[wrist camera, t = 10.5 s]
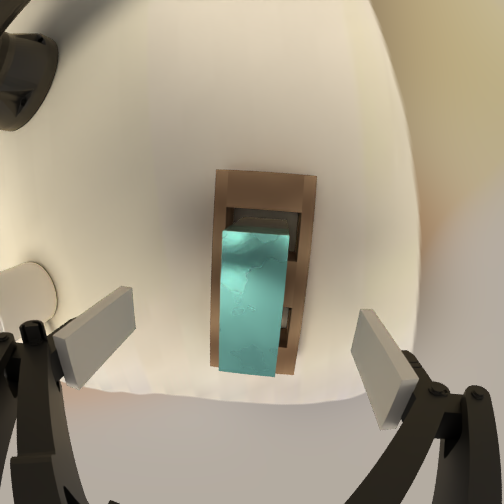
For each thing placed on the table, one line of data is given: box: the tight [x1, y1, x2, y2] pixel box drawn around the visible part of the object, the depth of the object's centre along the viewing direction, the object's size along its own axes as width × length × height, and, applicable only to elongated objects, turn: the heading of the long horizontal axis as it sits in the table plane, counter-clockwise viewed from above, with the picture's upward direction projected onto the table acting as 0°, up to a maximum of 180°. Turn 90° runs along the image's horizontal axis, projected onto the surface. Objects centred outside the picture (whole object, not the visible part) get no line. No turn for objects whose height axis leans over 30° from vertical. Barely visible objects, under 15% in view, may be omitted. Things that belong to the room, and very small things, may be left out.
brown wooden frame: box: [210, 169, 317, 375], centre depth 26 cm, size 18×8×4 cm, turn 176°
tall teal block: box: [219, 217, 289, 377], centre depth 23 cm, size 10×4×10 cm, turn 177°
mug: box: [0, 262, 57, 341], centre depth 27 cm, size 9×12×11 cm
